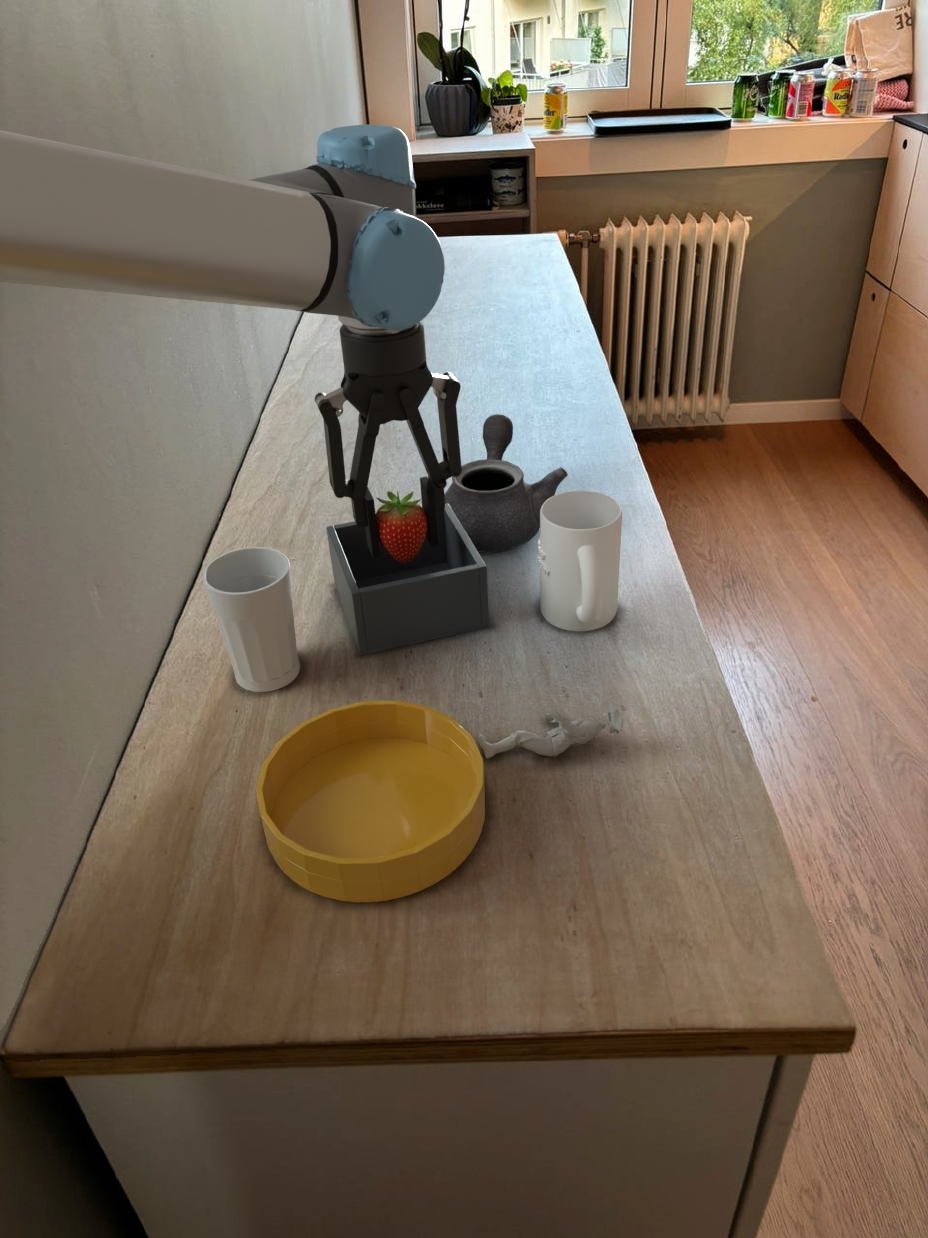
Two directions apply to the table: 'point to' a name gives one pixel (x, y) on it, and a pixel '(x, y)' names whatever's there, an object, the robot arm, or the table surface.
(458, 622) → the bin
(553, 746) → the soldier figure
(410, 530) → the fruit
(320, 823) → the bowl
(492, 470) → the teapot
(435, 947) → the table surface
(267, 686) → the cup
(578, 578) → the mug
